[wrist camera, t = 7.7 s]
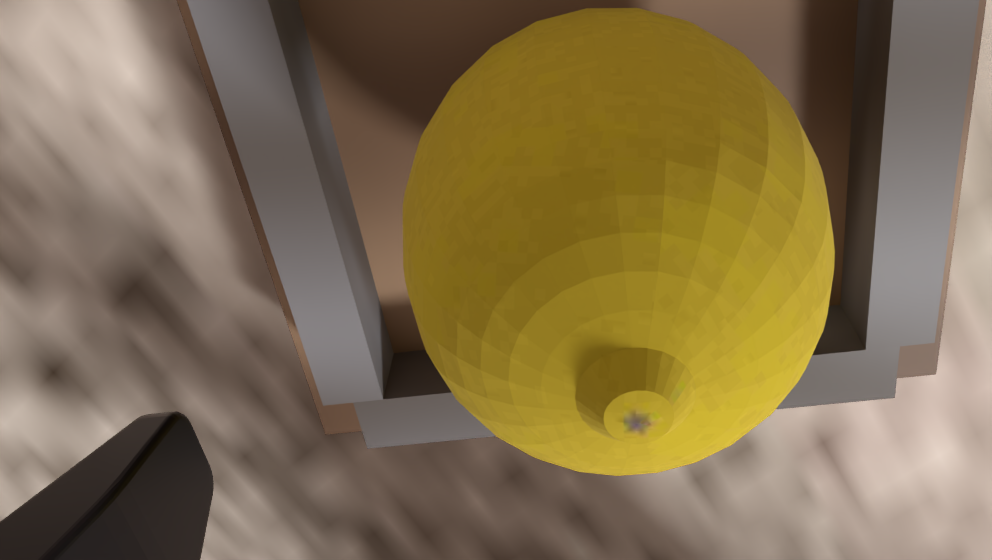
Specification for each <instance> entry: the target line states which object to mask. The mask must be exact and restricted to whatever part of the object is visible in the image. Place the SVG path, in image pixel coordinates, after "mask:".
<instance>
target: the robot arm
mask: <svg viewBox="0 0 992 560" xmlns="http://www.w3.org/2000/svg"><path fill="white" fill-rule="evenodd" d="M212 496H213V475H212V471H211V468H210V465H209V463H208V461H207V458H206V456H205V454H204V452H203V450H202V447H201V445H200V443H199V441H198V438H197V436H196V434H195V432H194V430H193V427H192V425H191V423H190V421H189V420H188V418H187V417H186V416H185V415H184V414H182V413H179V412H166V413H157V414H148V415H143V416H141V417H139V418H137V419H136V420H135V421H133V422H132V423H131V424H129V425H128V426H127V427H125V428H124V429H123V430H121V431H120V432H119V433H117V434H116V435H115V436H113V437H112V438H111V439H109V440H108V441H107V442H105V443H104V444H103V445H101V446H100V447H99V448H98V449H96V450H95V451H94V452H92V453H91V454H90V455H88V456H87V457H86V458H84V459H83V460H82V461H80V462H79V463H78V464H76V465H75V466H74V467H72V468H71V469H70V470H68V471H67V472H66V473H64V474H63V475H62V476H60V477H59V478H58V479H56V480H55V481H54V482H52V483H51V484H50V485H48V486H47V487H46V488H44V489H43V490H42V491H40V492H39V493H38V494H36V495H35V496H34V497H32V498H31V499H30V500H28V501H27V502H26V503H25V504H23V505H22V506H21V507H19V508H18V509H17V510H15V511H14V512H13V513H11V514H10V515H9V516H7V517H6V518H5V519H3V520H2V521H1V522H0V560H200V558H201V553H202V547H203V542H204V537H205V532H206V527H207V521H208V516H209V511H210V506H211V501H212Z"/></svg>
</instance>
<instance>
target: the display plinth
mask: <svg viewBox="0 0 992 560" xmlns="http://www.w3.org/2000/svg"><path fill="white" fill-rule="evenodd" d="M177 3H178V5H179V8H180V11H181V14H182V17H183V20H184V23H185V26H186V29H187V32H188V35H189V38H190V40H191V43H192V46H193V49H194V52H195V55H196V58H197V61H198V64H199V67H200V70H201V73H202V76H203V78H204V81H205V84H206V87H207V90H208V93H209V96H210V99H211V102H212V105H213V108H214V111H215V113H216V116H217V119H218V122H219V125H220V128H221V131H222V134H223V137H224V140H225V143H226V146H227V149H228V151H229V154H230V157H231V160H232V163H233V166H234V169H235V172H236V175H237V178H238V181H239V184H240V186H241V189H242V192H243V195H244V198H245V201H246V204H247V207H248V210H249V213H250V216H251V219H252V221H253V224H254V227H255V230H256V233H257V236H258V239H259V242H260V245H261V248H262V251H263V254H264V257H265V259H266V262H267V265H268V268H269V271H270V274H271V277H272V280H273V283H274V286H275V289H276V292H277V294H278V297H279V300H280V303H281V306H282V309H283V312H284V315H285V318H286V321H287V324H288V327H289V330H290V332H291V335H292V338H293V341H294V344H295V347H296V350H297V353H298V356H299V359H300V362H301V365H302V367H303V370H304V373H305V376H306V379H307V382H308V385H309V388H310V391H311V394H312V397H313V400H314V402H315V405H316V408H317V411H318V414H319V417H320V420H321V423H322V426H323V429H324V432H325V435H327V434H337V433H347V432H358V431H362V433H363V436H364V439H365V442H366V446H367V449H369V448H379V447H390V446H400V445H410V444H421V443H431V442H441V441H452V440H462V439H473V438H483V437H493V436H495V435H494V434H493V433H492V432H491V431H490V430H489V429H488V428H487V427H486V426H484V425H483V424H482V423H481V422H480V421H479V420H478V419H477V418H476V417H474V416H473V415H472V414H471V413H470V412H469V411H468V410H467V409H466V408H465V407H464V406H463V405H461V404H460V403H459V402H458V401H457V400H456V398H455V397H454V395H453V393H452V392H451V390H450V389H449V387H448V386H447V384H446V383H445V381H444V379H443V378H442V376H441V375H440V373H439V372H438V370H437V369H436V367H435V365H434V364H433V362H432V360H431V359H430V357H429V355H428V354H427V352H426V349H425V347H424V344H423V341H422V338H421V335H420V332H419V329H418V325H417V322H416V319H415V315H414V312H413V309H412V305H411V302H410V299H409V296H408V291H407V287H406V282H405V276H404V268H403V200H404V194H405V190H406V186H407V183H408V179H409V176H410V172H411V169H412V165H413V161H414V158H415V154H416V151H417V147H418V144H419V141H420V138H421V136H422V134H423V132H424V130H425V129H426V127H427V125H428V124H429V122H430V120H431V119H432V117H433V116H434V114H435V112H436V111H437V109H438V107H439V106H440V104H441V102H442V101H443V99H444V98H445V96H446V94H447V93H448V91H449V89H450V88H451V86H452V85H453V84H454V83H455V82H456V81H457V80H458V79H459V78H460V77H461V76H462V75H463V74H464V73H465V72H466V71H467V70H468V69H469V68H470V67H471V66H472V65H473V64H474V63H475V62H476V61H477V60H478V59H480V58H481V57H482V56H483V55H484V54H485V53H486V52H487V51H488V50H489V49H490V48H491V47H492V46H493V45H495V44H497V43H499V42H500V41H502V40H504V39H506V38H508V37H509V36H511V35H513V34H515V33H517V32H518V31H520V30H522V29H524V28H526V27H527V26H529V25H531V24H533V23H535V22H536V21H540V20H544V19H547V18H551V17H555V16H559V15H563V14H567V13H571V12H574V11H578V10H582V9H586V8H640V9H644V10H648V11H651V12H655V13H659V14H663V15H667V16H671V17H675V18H679V19H683V20H686V21H689V22H691V23H693V24H695V25H697V26H699V27H700V28H702V29H704V30H705V31H707V32H709V33H711V34H712V35H714V36H716V37H717V38H719V39H721V40H723V41H724V42H726V43H728V44H729V45H731V46H733V47H735V48H736V49H738V50H739V51H740V52H742V53H743V54H744V55H746V57H747V58H748V59H749V60H750V61H751V62H752V63H753V64H754V65H755V66H756V67H757V68H758V69H759V70H760V71H761V72H762V73H763V74H764V75H765V76H766V77H767V78H768V79H769V81H770V82H771V83H772V84H773V85H774V86H775V87H776V88H777V89H778V90H779V91H780V92H781V93H782V94H783V96H784V97H785V98H786V99H787V100H788V102H789V103H790V105H791V107H792V109H793V111H794V112H795V114H796V116H797V118H798V120H799V122H800V124H801V126H802V128H803V130H804V132H805V134H806V136H807V138H808V140H809V142H810V144H811V146H812V148H813V150H814V152H815V154H816V156H817V158H818V161H819V164H820V166H821V169H822V172H823V176H824V181H825V186H826V191H827V198H828V204H829V211H830V217H831V224H832V230H833V238H834V249H835V260H834V274H833V280H832V287H831V294H830V301H829V308H828V314H827V318H826V322H825V327H824V330H823V332H822V335H821V337H820V339H819V341H818V343H817V346H816V348H815V350H814V352H813V354H812V356H811V359H810V361H809V363H808V365H807V367H806V369H805V371H804V373H803V375H802V376H801V378H800V380H799V381H798V383H797V384H796V385H795V386H794V387H793V389H792V390H791V391H790V392H789V394H788V395H787V396H786V397H785V398H784V400H783V401H782V402H781V403H780V404H779V406H778V407H777V408H776V409H783V408H794V407H804V406H815V405H825V404H835V403H846V402H856V401H866V400H877V399H887V398H895V389H896V379H897V378H904V377H914V376H924V375H934V374H936V370H937V362H938V355H939V347H940V340H941V332H942V325H943V318H944V310H945V303H946V295H947V288H948V281H949V273H950V266H951V258H952V251H953V243H954V236H955V229H956V221H957V214H958V206H959V199H960V191H961V184H962V177H963V169H964V162H965V154H966V147H967V139H968V132H969V125H970V117H971V110H972V102H973V95H974V88H975V80H976V73H977V65H978V58H979V50H980V43H981V36H982V28H983V21H984V13H985V6H986V0H177Z"/></svg>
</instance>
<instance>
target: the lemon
mask: <svg viewBox="0 0 992 560" xmlns="http://www.w3.org/2000/svg"><path fill="white" fill-rule="evenodd" d="M834 260H835V249H834V238H833V230H832V224H831V217H830V211H829V204H828V198H827V191H826V186H825V181H824V176H823V172H822V169H821V166H820V164H819V161H818V158H817V156H816V154H815V152H814V150H813V148H812V146H811V144H810V142H809V140H808V138H807V136H806V134H805V132H804V130H803V128H802V126H801V124H800V122H799V120H798V118H797V116H796V114H795V112H794V111H793V109H792V107H791V105H790V103H789V102H788V100H787V99H786V98H785V97H784V96H783V94H782V93H781V92H780V91H779V90H778V89H777V88H776V87H775V86H774V85H773V84H772V83H771V82H770V81H769V79H768V78H767V77H766V76H765V75H764V74H763V73H762V72H761V71H760V70H759V69H758V68H757V67H756V66H755V65H754V64H753V63H752V62H751V61H750V60H749V59H748V58H747V57H746V55H744V54H743V53H742V52H740V51H739V50H738V49H736V48H735V47H733V46H731V45H729V44H728V43H726V42H724V41H723V40H721V39H719V38H717V37H716V36H714V35H712V34H711V33H709V32H707V31H705V30H704V29H702V28H700V27H699V26H697V25H695V24H693V23H691V22H689V21H686V20H683V19H679V18H675V17H671V16H667V15H663V14H659V13H655V12H651V11H648V10H644V9H640V8H586V9H582V10H578V11H574V12H571V13H567V14H563V15H559V16H555V17H551V18H547V19H544V20H540V21H536V22H535V23H533V24H531V25H529V26H527V27H526V28H524V29H522V30H520V31H518V32H517V33H515V34H513V35H511V36H509V37H508V38H506V39H504V40H502V41H500V42H499V43H497V44H495V45H493V46H492V47H491V48H490V49H489V50H488V51H487V52H486V53H485V54H484V55H483V56H482V57H481V58H480V59H478V60H477V61H476V62H475V63H474V64H473V65H472V66H471V67H470V68H469V69H468V70H467V71H466V72H465V73H464V74H463V75H462V76H461V77H460V78H459V79H458V80H457V81H456V82H455V83H454V84H453V85H452V86H451V88H450V89H449V91H448V93H447V94H446V96H445V98H444V99H443V101H442V102H441V104H440V106H439V107H438V109H437V111H436V112H435V114H434V116H433V117H432V119H431V120H430V122H429V124H428V125H427V127H426V129H425V130H424V132H423V134H422V136H421V138H420V141H419V144H418V147H417V151H416V154H415V158H414V161H413V165H412V169H411V172H410V176H409V179H408V183H407V186H406V190H405V194H404V200H403V268H404V276H405V282H406V287H407V291H408V296H409V299H410V302H411V305H412V309H413V312H414V315H415V319H416V322H417V325H418V329H419V332H420V335H421V338H422V341H423V344H424V347H425V349H426V352H427V354H428V355H429V357H430V359H431V360H432V362H433V364H434V365H435V367H436V369H437V370H438V372H439V373H440V375H441V376H442V378H443V379H444V381H445V383H446V384H447V386H448V387H449V389H450V390H451V392H452V393H453V395H454V397H455V398H456V400H457V401H458V402H459V403H460V404H461V405H463V406H464V407H465V408H466V409H467V410H468V411H469V412H470V413H471V414H472V415H473V416H474V417H476V418H477V419H478V420H479V421H480V422H481V423H482V424H483V425H484V426H486V427H487V428H488V429H489V430H490V431H491V432H492V433H493V434H494V435H495V436H497V437H498V438H500V439H502V440H503V441H505V442H507V443H509V444H510V445H512V446H514V447H516V448H518V449H519V450H521V451H523V452H525V453H527V454H528V455H530V456H532V457H534V458H537V459H540V460H542V461H545V462H549V463H552V464H555V465H558V466H561V467H565V468H568V469H571V470H574V471H578V472H585V473H595V474H604V475H614V476H622V475H635V474H647V473H658V472H662V471H665V470H669V469H673V468H677V467H681V466H684V465H688V464H692V463H695V462H698V461H700V460H702V459H704V458H706V457H708V456H710V455H712V454H714V453H716V452H718V451H720V450H722V449H724V448H726V447H728V446H730V445H732V444H733V443H734V442H736V441H737V440H739V439H740V438H741V437H742V436H744V435H745V434H746V433H748V432H749V431H750V430H751V429H753V428H754V427H755V426H757V425H758V424H759V423H761V422H762V421H763V420H764V419H766V418H767V417H768V416H770V415H771V414H772V413H773V412H774V410H775V409H776V408H777V407H778V406H779V404H780V403H781V402H782V401H783V400H784V398H785V397H786V396H787V395H788V394H789V392H790V391H791V390H792V389H793V387H794V386H795V385H796V384H797V383H798V381H799V380H800V378H801V376H802V375H803V373H804V371H805V369H806V367H807V365H808V363H809V361H810V359H811V356H812V354H813V352H814V350H815V348H816V346H817V343H818V341H819V339H820V337H821V335H822V332H823V330H824V327H825V322H826V318H827V314H828V308H829V301H830V294H831V287H832V280H833V274H834Z"/></svg>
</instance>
